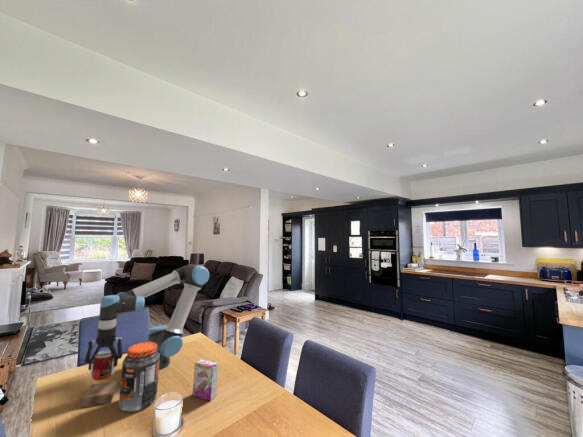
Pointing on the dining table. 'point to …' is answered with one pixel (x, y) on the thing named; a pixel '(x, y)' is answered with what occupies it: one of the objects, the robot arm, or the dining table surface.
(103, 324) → the robot arm
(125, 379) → the supplement tub
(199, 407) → the dining table surface
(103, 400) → the plinth
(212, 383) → the candy bar box
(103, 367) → the canned food
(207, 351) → the dining table surface
